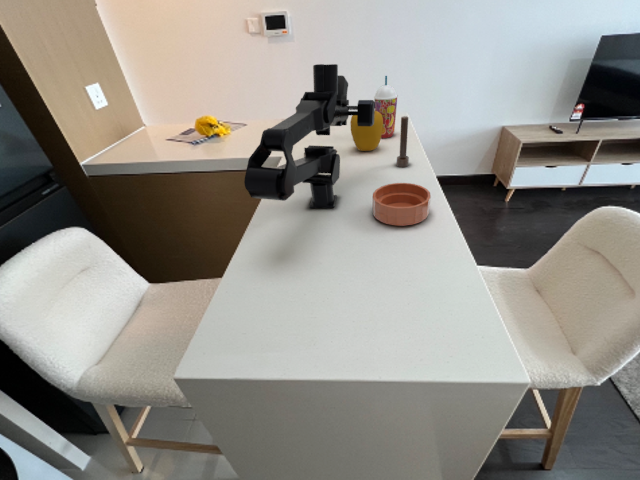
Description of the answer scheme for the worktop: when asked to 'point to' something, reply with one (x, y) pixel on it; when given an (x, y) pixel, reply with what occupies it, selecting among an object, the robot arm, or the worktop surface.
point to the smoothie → (386, 108)
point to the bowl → (401, 203)
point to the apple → (367, 133)
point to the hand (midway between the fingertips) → (349, 112)
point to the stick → (403, 143)
